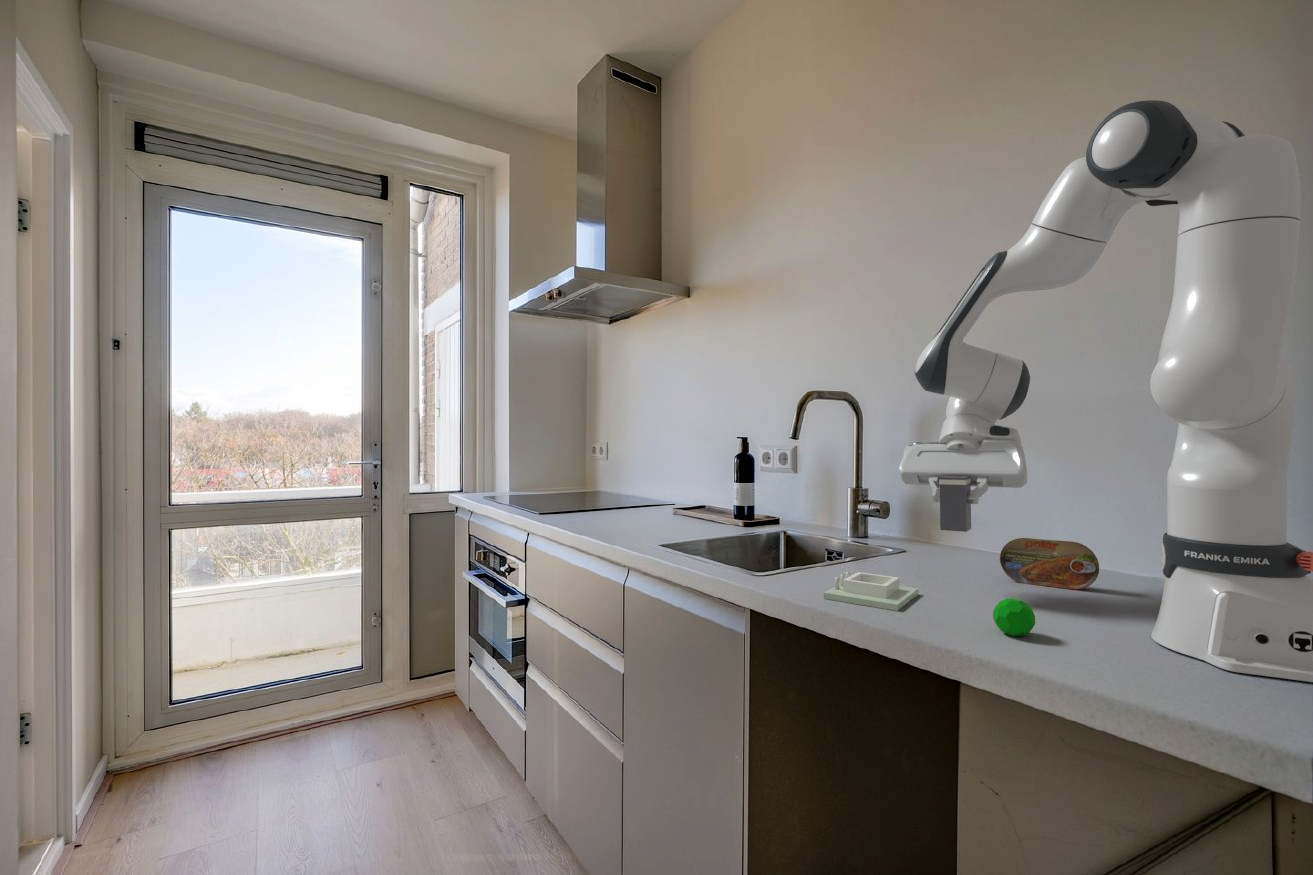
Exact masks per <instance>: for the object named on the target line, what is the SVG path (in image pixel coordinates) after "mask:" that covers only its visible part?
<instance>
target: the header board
mask: <svg viewBox="0 0 1313 875" xmlns="http://www.w3.org/2000/svg"><path fill="white" fill-rule="evenodd" d="M918 595H919V588H917V587H911V586H904V585H903V586H902V585H900V577H896V576H890V575H889V576H888V575H882V574H875V573H868V572H860V571H858V572H855V573H853V574H851V572H850V571H845V574H843V573H842V574H840V577H839V576H835V577H834V586H833V587H831V588H830V589H827V590H825V591H824V592H823V599H824V600H830V601H837V602H841V603H847V604H852V605H853V604H854V605H860V606H865V607H872V608H878V609H884V610H887V611H896V612H898V611H899V610H901V609H902V608H903V607H905V606H906V605H907V604H908V603H909V602H910V601H912V600H913V599H914V598H916V597H917V596H918Z"/></svg>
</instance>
